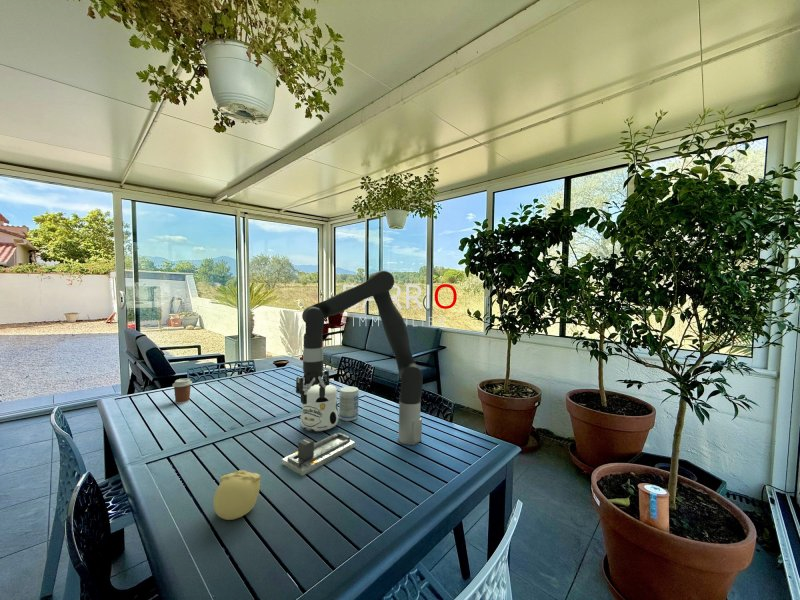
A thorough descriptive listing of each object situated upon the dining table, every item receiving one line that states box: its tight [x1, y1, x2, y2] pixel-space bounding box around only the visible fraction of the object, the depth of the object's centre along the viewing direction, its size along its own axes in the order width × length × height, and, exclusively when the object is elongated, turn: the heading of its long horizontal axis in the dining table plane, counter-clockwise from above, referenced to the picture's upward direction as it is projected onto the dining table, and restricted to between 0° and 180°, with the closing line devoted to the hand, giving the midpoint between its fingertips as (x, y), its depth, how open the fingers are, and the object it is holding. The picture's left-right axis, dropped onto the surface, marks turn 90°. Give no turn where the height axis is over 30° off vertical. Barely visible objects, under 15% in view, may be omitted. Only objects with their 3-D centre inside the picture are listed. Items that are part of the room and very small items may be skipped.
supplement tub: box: [338, 386, 360, 422], centre depth 159 cm, size 10×10×15 cm
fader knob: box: [297, 437, 315, 461], centre depth 117 cm, size 4×4×6 cm
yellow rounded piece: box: [212, 469, 262, 521], centre depth 92 cm, size 11×12×11 cm
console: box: [281, 432, 356, 477], centre depth 123 cm, size 26×12×3 cm, turn 144°
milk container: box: [300, 384, 340, 433], centre depth 147 cm, size 17×17×18 cm
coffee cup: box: [172, 378, 193, 405], centre depth 175 cm, size 9×9×12 cm
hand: (313, 400), depth 121 cm, fingers open, 8 cm apart
